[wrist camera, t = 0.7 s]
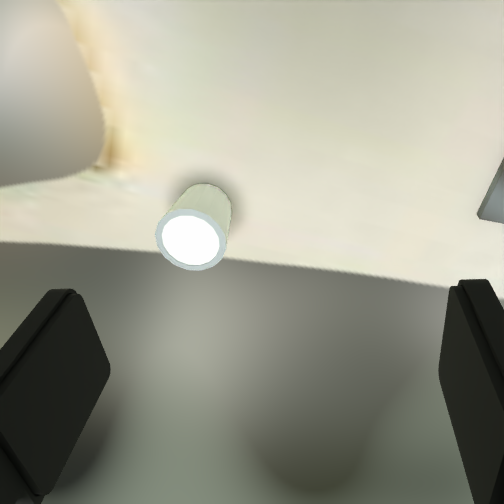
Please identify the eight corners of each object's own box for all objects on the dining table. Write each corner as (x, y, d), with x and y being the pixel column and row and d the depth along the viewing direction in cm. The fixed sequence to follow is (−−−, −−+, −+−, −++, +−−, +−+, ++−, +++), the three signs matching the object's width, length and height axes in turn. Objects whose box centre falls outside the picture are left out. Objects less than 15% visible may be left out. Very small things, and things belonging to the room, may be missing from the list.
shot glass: (249, 200, 47) (239, 234, 41) (218, 245, 50) (205, 282, 45) (191, 165, 46) (173, 195, 40) (164, 214, 49) (143, 248, 43)
